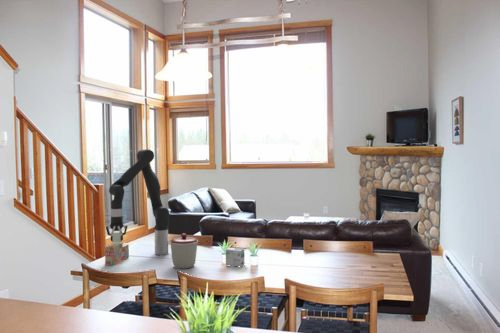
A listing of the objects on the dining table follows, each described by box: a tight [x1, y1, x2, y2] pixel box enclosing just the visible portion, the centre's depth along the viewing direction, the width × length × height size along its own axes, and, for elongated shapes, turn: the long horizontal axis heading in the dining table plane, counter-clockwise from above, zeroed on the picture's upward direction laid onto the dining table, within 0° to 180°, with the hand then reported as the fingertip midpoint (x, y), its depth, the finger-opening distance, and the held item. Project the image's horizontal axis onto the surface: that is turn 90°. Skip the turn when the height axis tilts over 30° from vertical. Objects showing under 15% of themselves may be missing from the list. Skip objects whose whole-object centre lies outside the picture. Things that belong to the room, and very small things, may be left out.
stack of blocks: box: [104, 242, 130, 266], centre depth 282 cm, size 21×6×12 cm, turn 171°
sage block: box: [112, 231, 122, 243], centre depth 280 cm, size 5×5×6 cm
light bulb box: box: [225, 247, 246, 268], centre depth 273 cm, size 11×7×11 cm, turn 71°
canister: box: [168, 232, 199, 270], centre depth 269 cm, size 18×18×21 cm
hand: (116, 241), depth 280 cm, fingers closed on sage block, 5 cm apart
